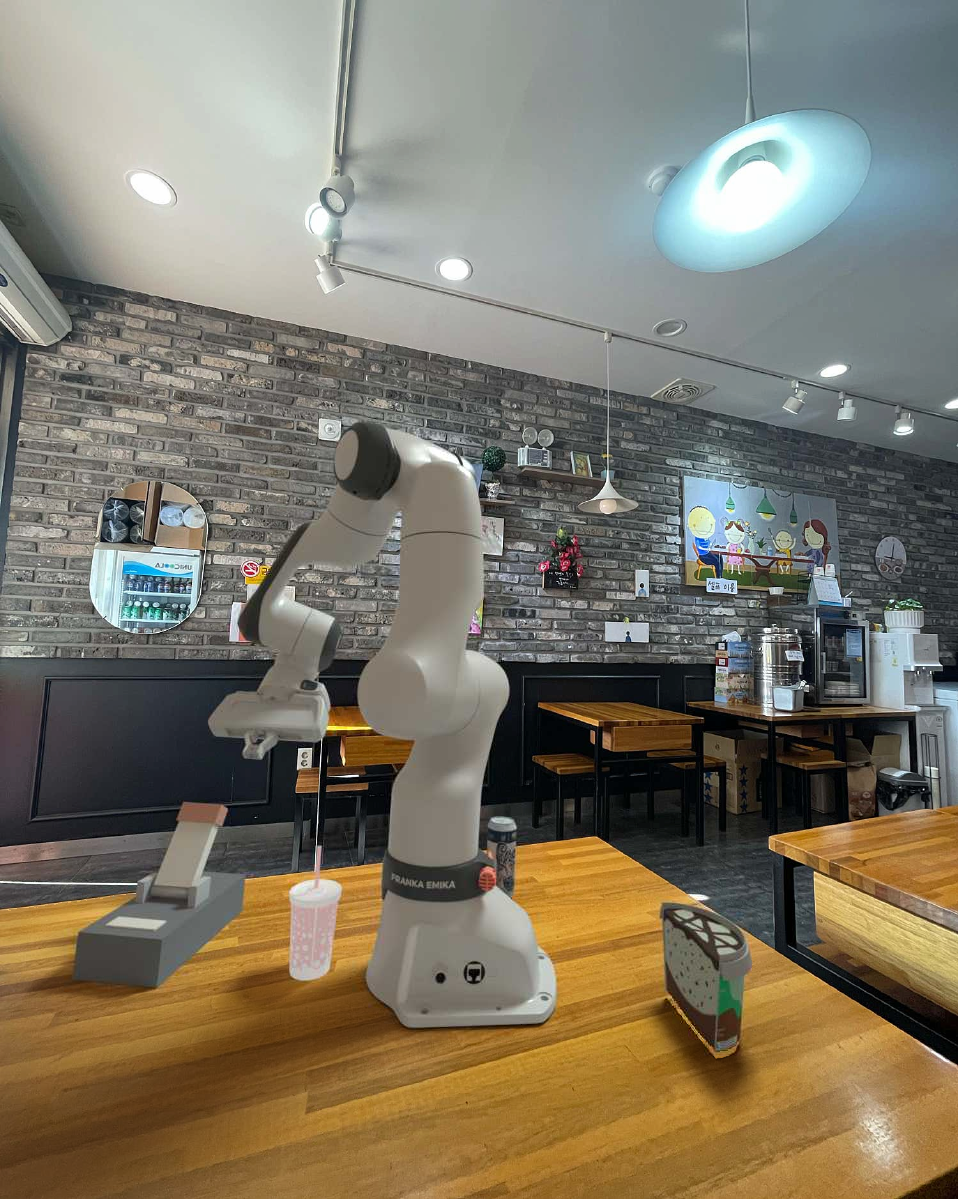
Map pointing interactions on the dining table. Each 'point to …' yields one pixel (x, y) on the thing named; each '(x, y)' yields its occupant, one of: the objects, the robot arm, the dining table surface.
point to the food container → (705, 970)
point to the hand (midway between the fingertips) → (251, 756)
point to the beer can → (503, 851)
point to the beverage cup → (312, 925)
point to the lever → (188, 849)
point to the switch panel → (156, 931)
